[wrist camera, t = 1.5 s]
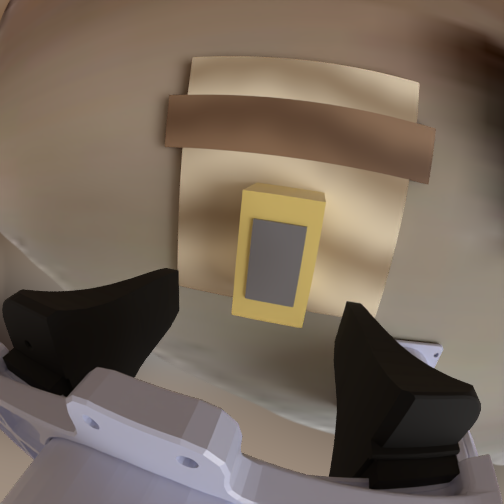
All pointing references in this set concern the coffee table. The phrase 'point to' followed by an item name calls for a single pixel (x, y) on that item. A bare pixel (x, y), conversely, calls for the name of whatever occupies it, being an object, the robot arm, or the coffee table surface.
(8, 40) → the coffee table surface
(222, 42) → the coffee table surface
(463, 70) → the coffee table surface
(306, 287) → the stud finder
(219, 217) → the subfloor
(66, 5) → the coffee table surface
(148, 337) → the robot arm
